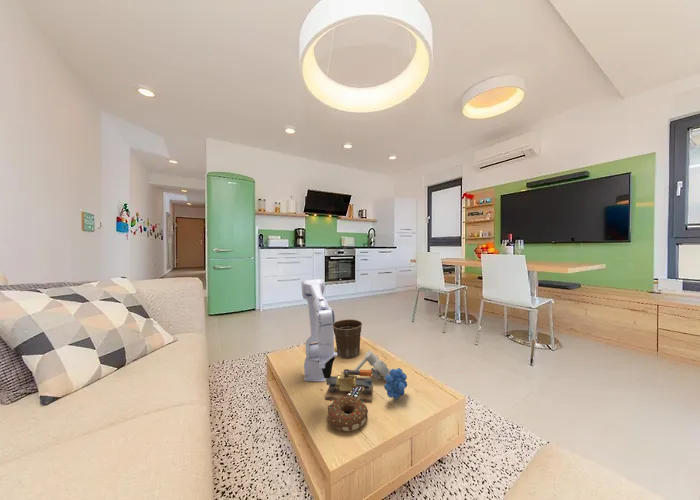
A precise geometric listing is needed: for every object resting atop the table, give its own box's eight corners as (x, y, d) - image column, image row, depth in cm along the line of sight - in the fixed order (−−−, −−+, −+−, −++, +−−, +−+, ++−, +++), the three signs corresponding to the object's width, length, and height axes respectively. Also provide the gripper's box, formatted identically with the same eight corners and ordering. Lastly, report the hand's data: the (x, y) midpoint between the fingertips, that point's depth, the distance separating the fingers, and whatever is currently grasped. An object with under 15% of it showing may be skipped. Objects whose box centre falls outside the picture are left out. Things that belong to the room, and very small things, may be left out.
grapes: (394, 411, 89) (393, 378, 89) (381, 401, 95) (379, 370, 94) (415, 397, 96) (414, 367, 96) (402, 389, 102) (401, 360, 101)
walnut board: (325, 399, 97) (325, 396, 97) (330, 386, 106) (330, 383, 106) (371, 402, 95) (371, 399, 95) (372, 388, 104) (372, 385, 103)
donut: (355, 401, 96) (354, 389, 95) (375, 424, 84) (374, 410, 83) (320, 415, 89) (319, 401, 89) (336, 442, 77) (335, 426, 77)
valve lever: (343, 376, 99) (342, 371, 99) (344, 373, 102) (343, 368, 101) (371, 377, 98) (371, 372, 98) (371, 374, 100) (371, 369, 100)
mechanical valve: (396, 375, 107) (373, 352, 105) (368, 409, 103) (343, 386, 101) (387, 365, 117) (365, 344, 115) (361, 396, 113) (338, 375, 111)
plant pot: (331, 348, 142) (330, 320, 142) (359, 345, 145) (358, 317, 145) (335, 362, 126) (334, 330, 126) (366, 358, 129) (365, 327, 129)
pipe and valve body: (326, 393, 99) (325, 377, 99) (329, 386, 104) (328, 371, 104) (371, 395, 97) (371, 379, 96) (372, 388, 101) (372, 373, 101)
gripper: (332, 350, 86) (333, 389, 86) (340, 334, 100) (341, 367, 101) (312, 350, 87) (314, 388, 87) (322, 334, 101) (324, 367, 102)
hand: (327, 377), depth 94 cm, fingers closed
